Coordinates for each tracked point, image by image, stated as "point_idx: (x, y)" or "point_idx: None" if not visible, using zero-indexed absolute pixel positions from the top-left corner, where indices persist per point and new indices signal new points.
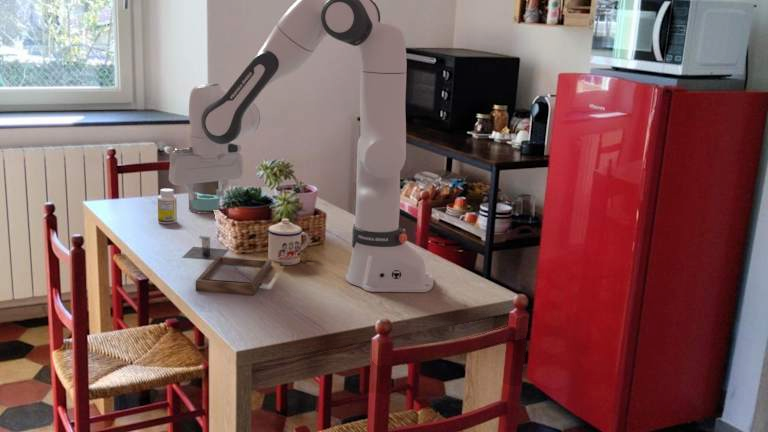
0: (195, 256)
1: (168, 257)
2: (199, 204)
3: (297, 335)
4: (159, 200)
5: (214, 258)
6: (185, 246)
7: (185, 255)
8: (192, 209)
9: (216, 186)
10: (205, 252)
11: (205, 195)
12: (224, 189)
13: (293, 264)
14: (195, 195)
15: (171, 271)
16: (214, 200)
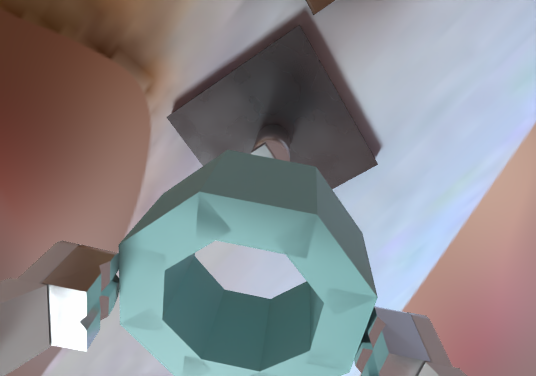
0: (332, 137)
1: (373, 221)
2: (361, 251)
3: None
4: None
5: (295, 63)
6: (244, 270)
7: (349, 173)
8: None
9: None
10: (285, 132)
11: (198, 355)
12: (6, 283)
13: None
14: (403, 341)
15: (501, 88)
16: (240, 192)
